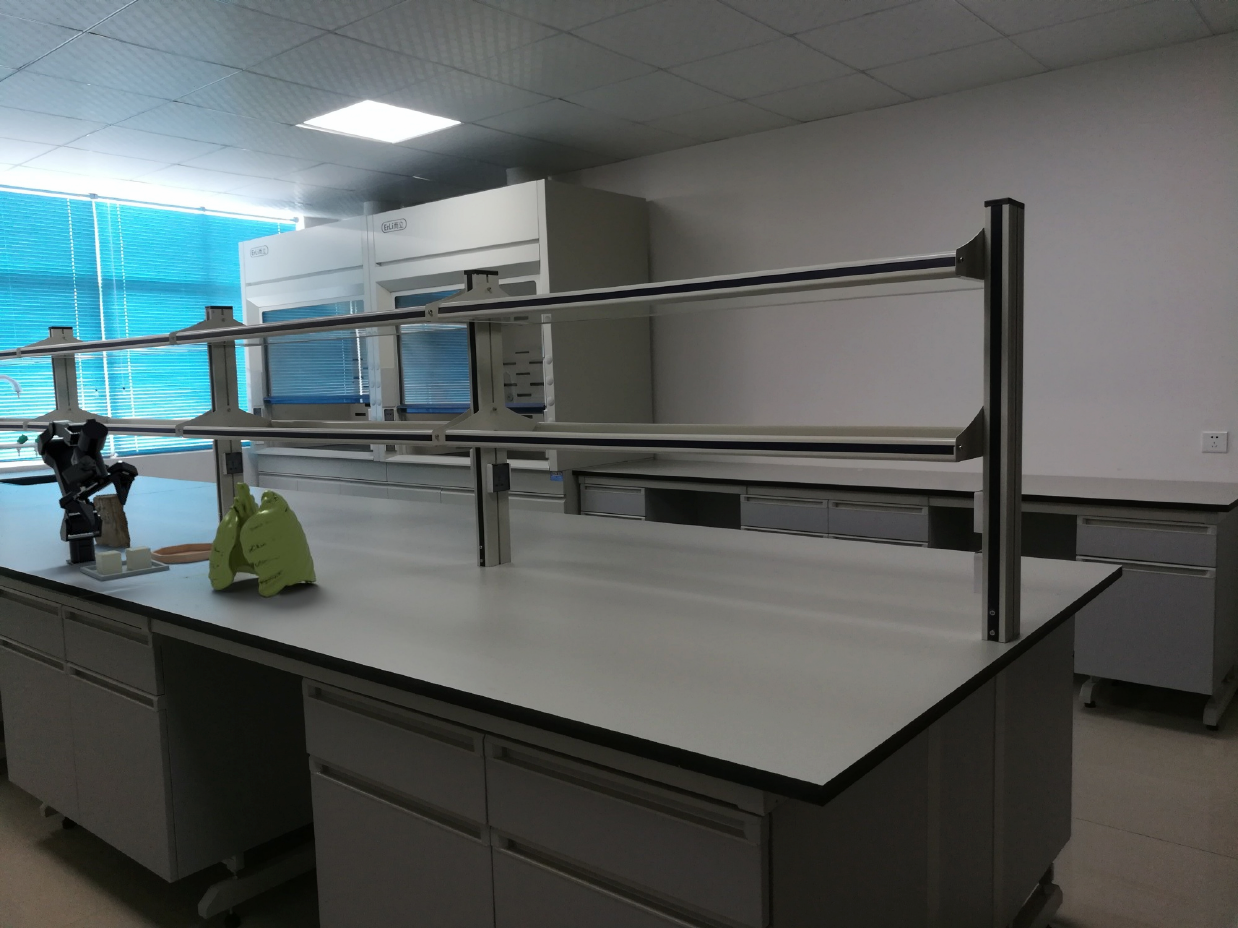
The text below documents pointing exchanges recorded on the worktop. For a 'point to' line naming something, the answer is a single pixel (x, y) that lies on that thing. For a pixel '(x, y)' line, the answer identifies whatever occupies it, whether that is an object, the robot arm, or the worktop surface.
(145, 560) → the block
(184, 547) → the bowl
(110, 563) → the block
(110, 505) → the mineral sample
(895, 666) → the worktop surface
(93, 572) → the parts tray
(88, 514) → the robot arm
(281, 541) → the lungs
